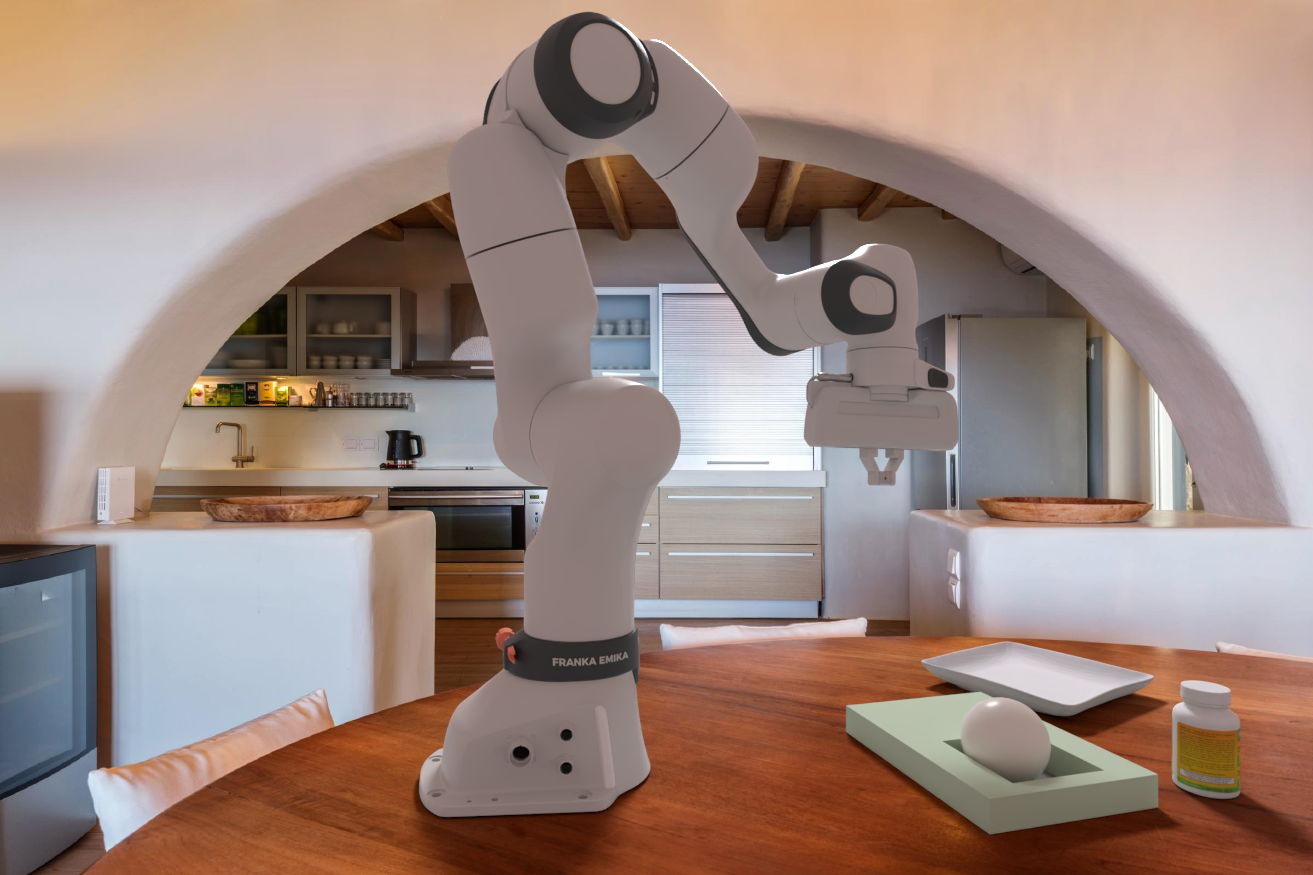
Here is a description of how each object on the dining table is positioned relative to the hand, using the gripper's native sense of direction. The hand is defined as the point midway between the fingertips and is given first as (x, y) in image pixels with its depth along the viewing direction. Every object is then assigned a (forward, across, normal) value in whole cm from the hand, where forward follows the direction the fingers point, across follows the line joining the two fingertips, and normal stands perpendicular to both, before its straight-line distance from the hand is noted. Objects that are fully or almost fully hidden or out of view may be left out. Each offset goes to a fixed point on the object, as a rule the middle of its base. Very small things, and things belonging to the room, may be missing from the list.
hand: (881, 485), depth 99 cm
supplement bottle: (+28, +18, -28) cm, 44 cm away
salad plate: (+27, +24, +1) cm, 36 cm away
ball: (+24, 0, -22) cm, 33 cm away
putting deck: (+28, +1, -18) cm, 33 cm away
